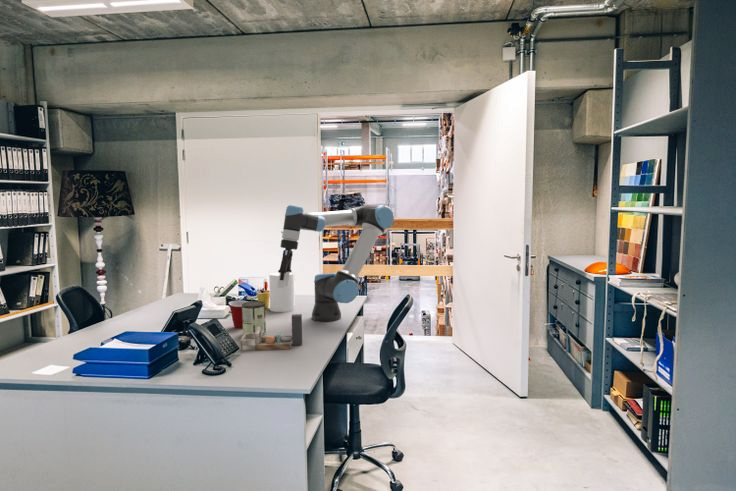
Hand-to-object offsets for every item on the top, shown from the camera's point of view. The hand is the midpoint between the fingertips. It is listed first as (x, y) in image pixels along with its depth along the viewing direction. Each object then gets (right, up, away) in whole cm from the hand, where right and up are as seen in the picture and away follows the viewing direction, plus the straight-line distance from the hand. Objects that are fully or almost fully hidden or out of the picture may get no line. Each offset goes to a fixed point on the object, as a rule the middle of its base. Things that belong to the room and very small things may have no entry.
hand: (282, 286), depth 212 cm
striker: (+5, -23, -14) cm, 27 cm away
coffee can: (-13, -22, +2) cm, 26 cm away
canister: (-9, -17, +52) cm, 55 cm away
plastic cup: (-23, -21, +14) cm, 34 cm away
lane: (-4, -23, -15) cm, 28 cm away
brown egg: (-2, -21, -15) cm, 26 cm away
